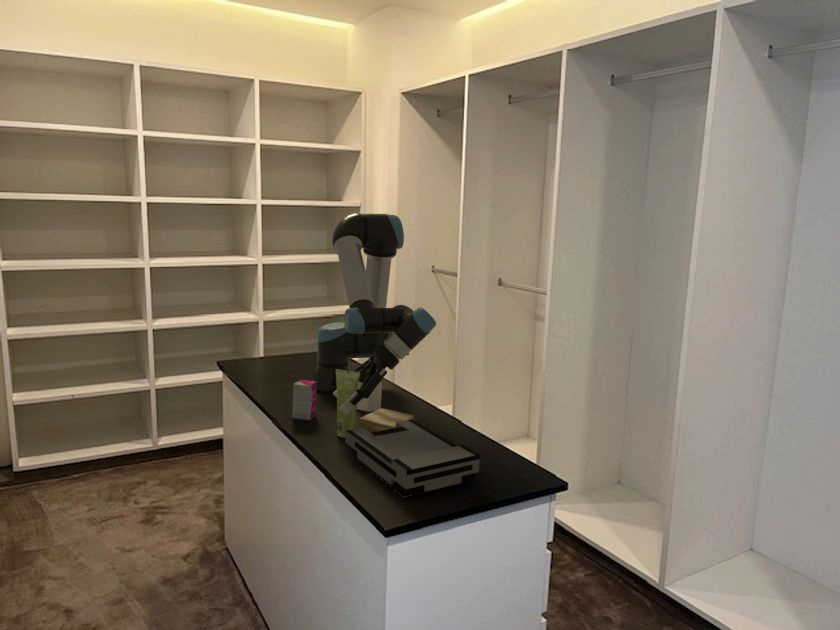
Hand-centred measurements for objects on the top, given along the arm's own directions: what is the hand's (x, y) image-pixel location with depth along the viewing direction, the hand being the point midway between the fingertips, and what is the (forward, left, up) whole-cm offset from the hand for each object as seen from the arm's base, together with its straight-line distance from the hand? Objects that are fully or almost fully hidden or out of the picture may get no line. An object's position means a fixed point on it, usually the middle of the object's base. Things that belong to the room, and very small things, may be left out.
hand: (339, 403), depth 183 cm
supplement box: (-6, -18, -10) cm, 22 cm away
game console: (+8, +28, -10) cm, 31 cm away
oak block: (-13, +9, -10) cm, 18 cm away
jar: (-27, -7, -10) cm, 29 cm away
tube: (-2, +2, -10) cm, 10 cm away
